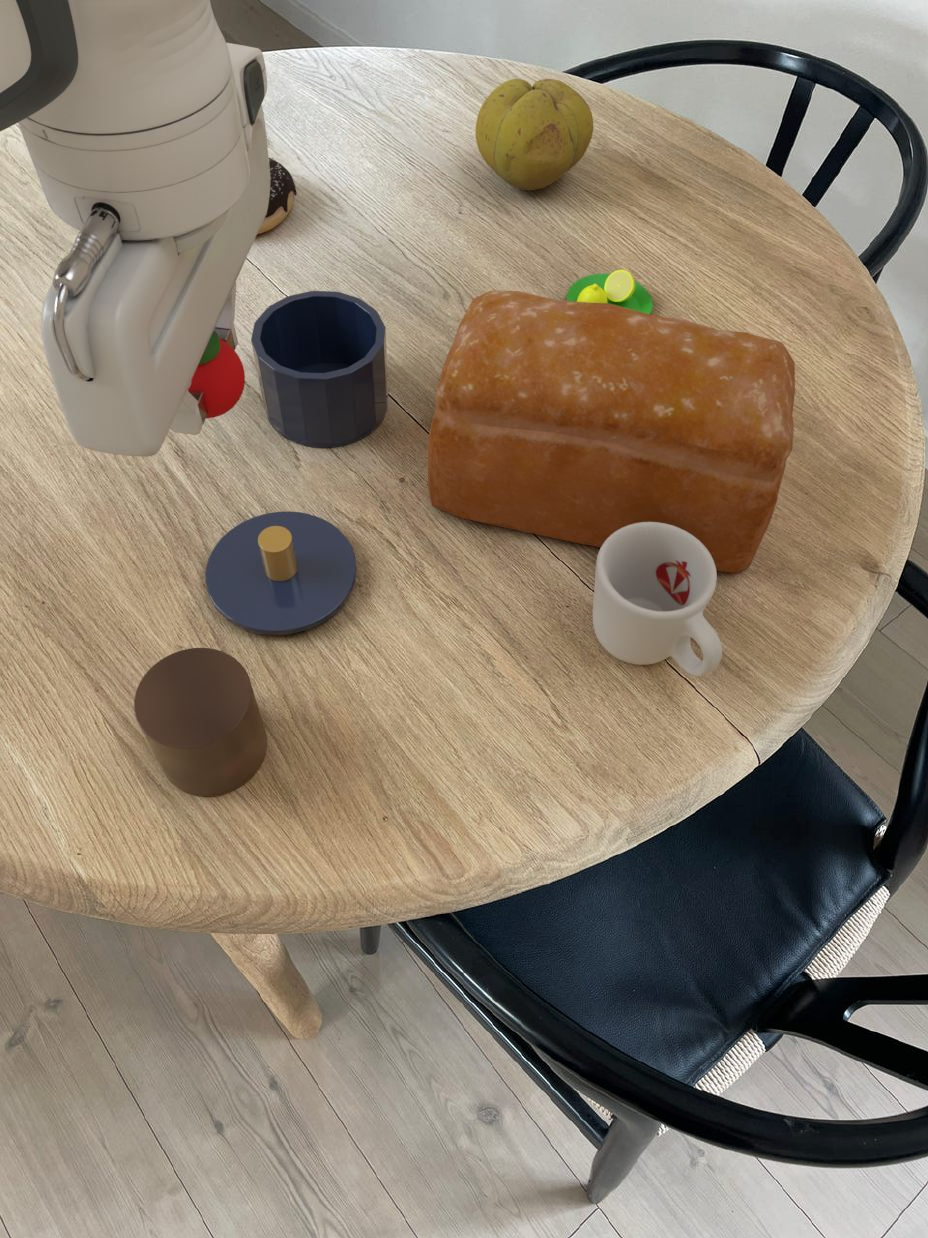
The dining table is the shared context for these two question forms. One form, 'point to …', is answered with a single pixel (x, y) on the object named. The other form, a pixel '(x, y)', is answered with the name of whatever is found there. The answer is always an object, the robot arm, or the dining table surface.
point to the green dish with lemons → (612, 291)
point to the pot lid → (281, 573)
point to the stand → (202, 721)
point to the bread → (610, 424)
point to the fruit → (533, 131)
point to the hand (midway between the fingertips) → (205, 387)
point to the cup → (655, 597)
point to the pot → (322, 368)
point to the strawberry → (219, 377)
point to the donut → (278, 196)
